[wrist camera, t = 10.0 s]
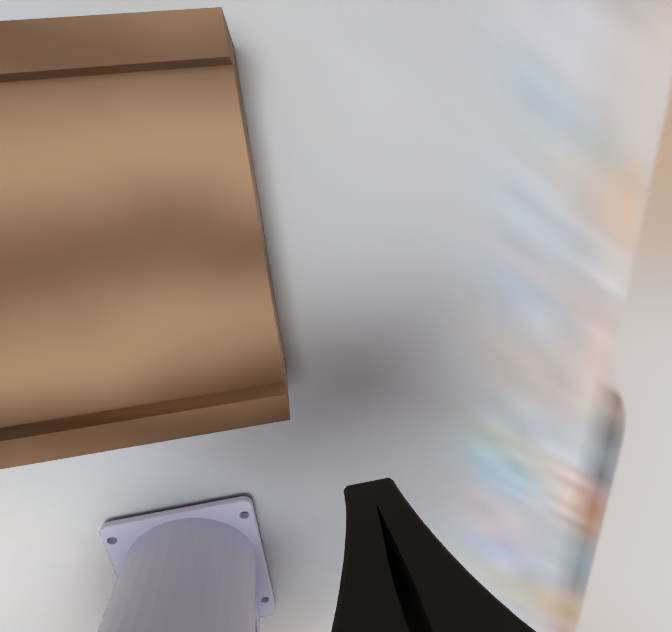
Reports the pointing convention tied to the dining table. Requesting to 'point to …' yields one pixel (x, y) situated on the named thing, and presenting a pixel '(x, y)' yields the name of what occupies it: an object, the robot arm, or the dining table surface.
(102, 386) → the walnut case
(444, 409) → the dining table surface
